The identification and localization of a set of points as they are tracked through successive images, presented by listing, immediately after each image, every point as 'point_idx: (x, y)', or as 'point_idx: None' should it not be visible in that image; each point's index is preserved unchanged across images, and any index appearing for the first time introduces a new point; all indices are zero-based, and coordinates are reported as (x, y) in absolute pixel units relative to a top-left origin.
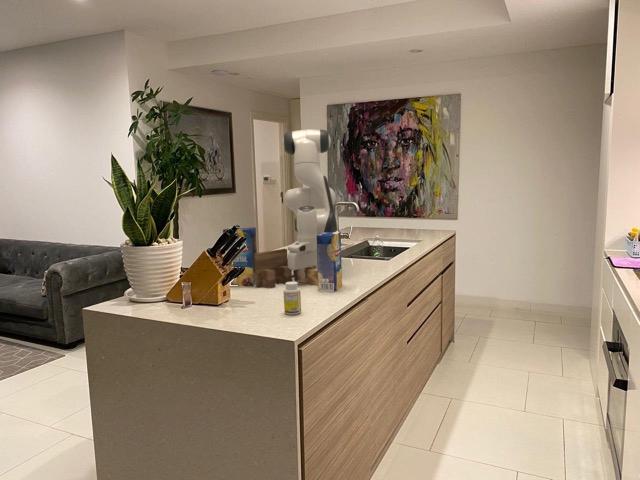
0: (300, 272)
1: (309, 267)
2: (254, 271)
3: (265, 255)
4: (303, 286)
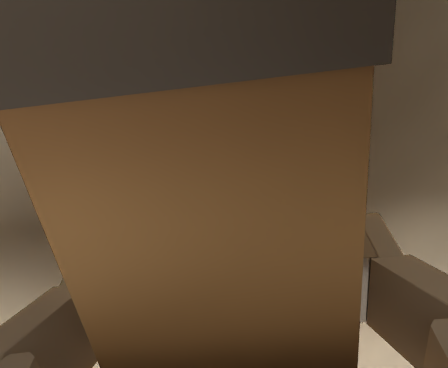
0: (17, 317)
1: (303, 356)
2: None
3: None
4: None
